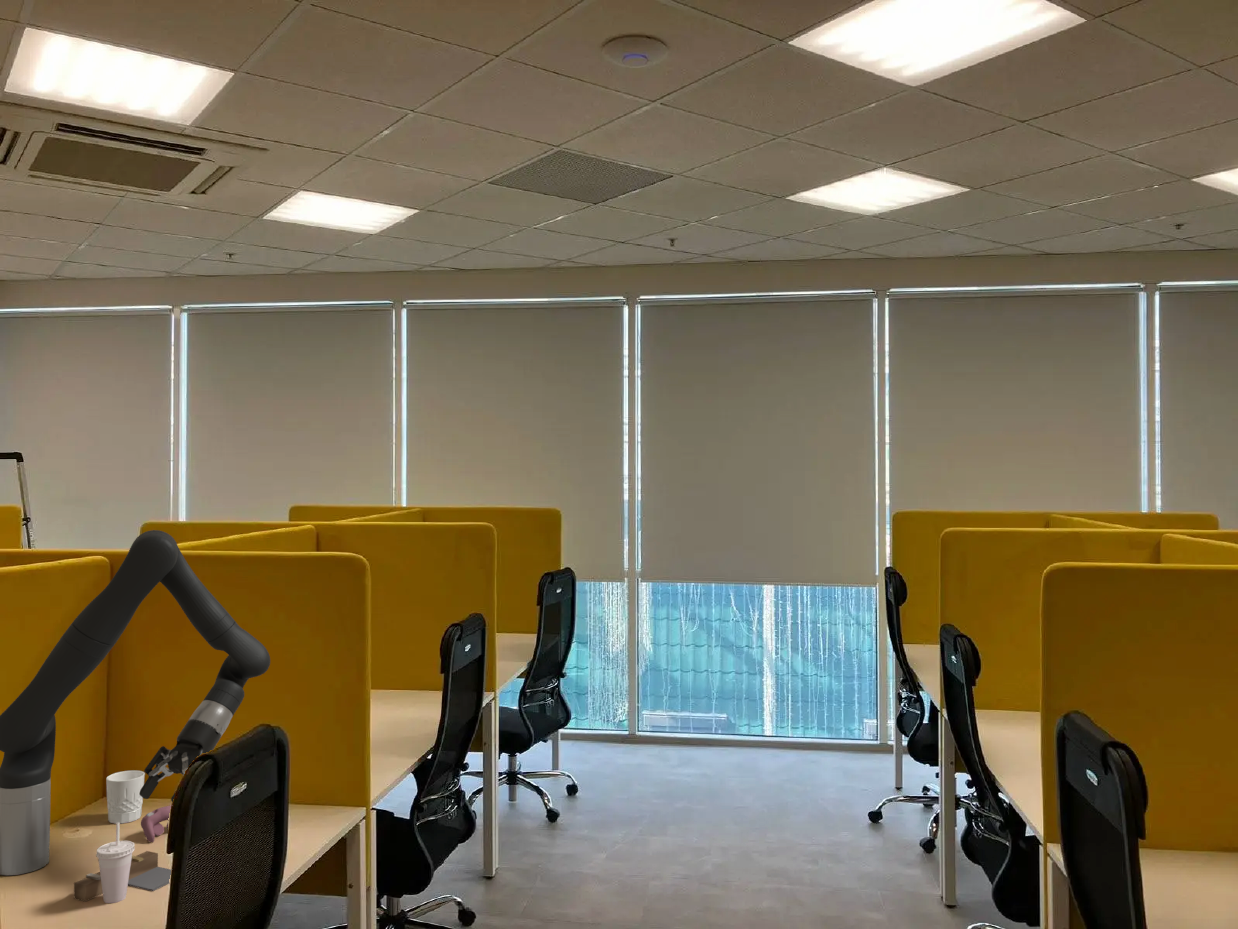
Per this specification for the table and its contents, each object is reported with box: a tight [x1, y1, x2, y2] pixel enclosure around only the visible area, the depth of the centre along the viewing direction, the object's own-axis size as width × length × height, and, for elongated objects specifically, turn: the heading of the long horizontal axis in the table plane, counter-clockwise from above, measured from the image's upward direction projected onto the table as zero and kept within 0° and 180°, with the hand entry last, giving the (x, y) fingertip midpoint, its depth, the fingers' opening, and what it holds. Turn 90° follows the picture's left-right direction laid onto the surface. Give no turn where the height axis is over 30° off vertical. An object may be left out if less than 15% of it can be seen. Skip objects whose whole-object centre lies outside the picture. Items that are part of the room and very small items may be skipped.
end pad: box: [128, 866, 172, 892], centre depth 179 cm, size 8×8×1 cm
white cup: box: [105, 769, 146, 825], centre depth 211 cm, size 8×8×10 cm
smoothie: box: [95, 822, 135, 904], centre depth 171 cm, size 6×6×14 cm
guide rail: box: [73, 850, 159, 902], centre depth 177 cm, size 3×16×3 cm, turn 158°
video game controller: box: [140, 805, 172, 843], centre depth 202 cm, size 10×5×7 cm, turn 141°
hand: (158, 800), depth 180 cm, fingers open, 8 cm apart
